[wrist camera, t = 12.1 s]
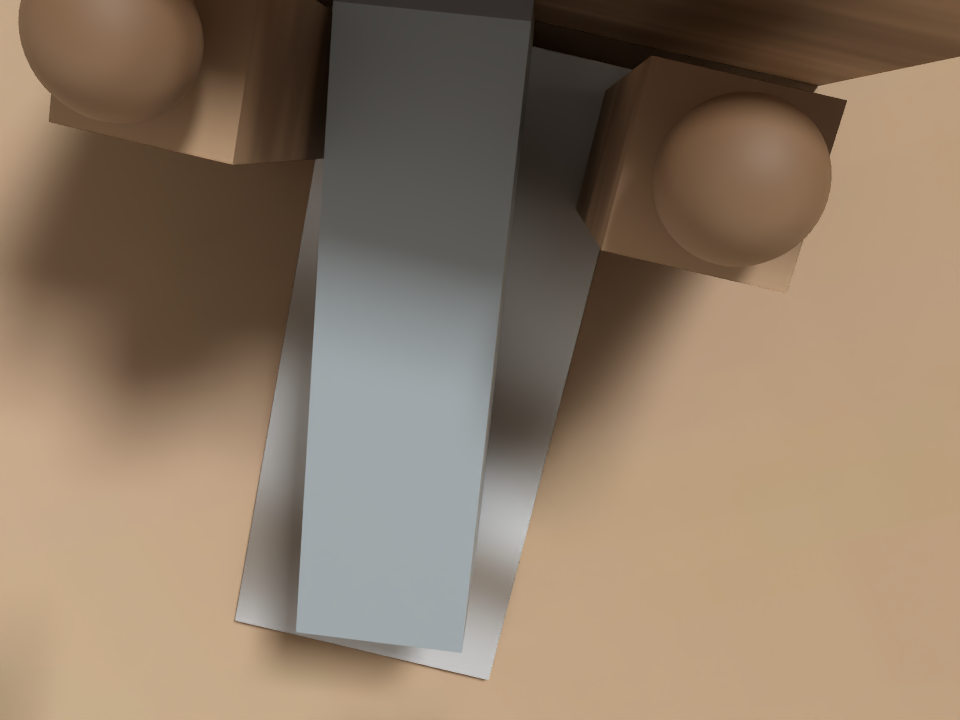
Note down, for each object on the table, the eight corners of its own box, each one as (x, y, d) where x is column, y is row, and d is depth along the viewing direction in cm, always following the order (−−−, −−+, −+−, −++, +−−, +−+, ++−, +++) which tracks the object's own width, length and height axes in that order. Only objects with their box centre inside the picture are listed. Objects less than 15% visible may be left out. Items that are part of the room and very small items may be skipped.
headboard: (629, 707, 31) (722, 1273, 15) (98, 583, 31) (-337, 1020, 16) (835, 32, 25) (1302, -143, 10) (190, -117, 26) (-342, -518, 10)
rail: (476, 553, 30) (462, 653, 24) (342, 536, 30) (295, 632, 24) (534, 27, 26) (534, -7, 20) (380, 11, 26) (334, -27, 20)
